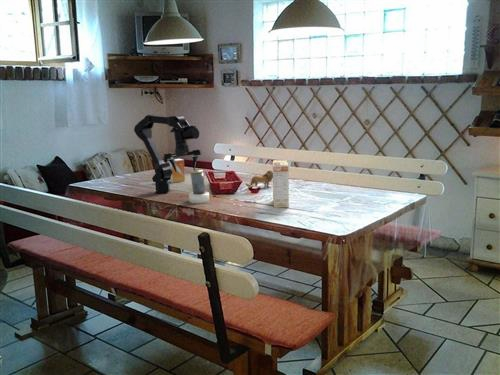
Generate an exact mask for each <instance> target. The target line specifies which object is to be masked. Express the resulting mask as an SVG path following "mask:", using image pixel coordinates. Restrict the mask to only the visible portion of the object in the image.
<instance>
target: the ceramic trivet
mask: <svg viewBox="0 0 500 375" xmlns="http://www.w3.org/2000/svg"><path fill="white" fill-rule="evenodd" d="M210 200H211V199H210V192H209V191H206V190H205V193H203V194H193V191H192V192H191V191H190V192H189V193H188V202H189V204H190V203H191V204H206V203H209V202H210Z"/></svg>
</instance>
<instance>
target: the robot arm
mask: <svg viewBox="0 0 500 375" xmlns="http://www.w3.org/2000/svg"><path fill="white" fill-rule="evenodd" d="M154 124H163V125H168V126H169V127H172V129H171V130H170V133H173V136H174V142H175V148H174V152H167V153H164V154H163V157H162V155H161V154H160V151H159V149H158V148H157V145H156V143H155V141H154V139H153V131H152V128H153V127H154ZM133 131H134V134H135V135H136V136H137V138H139V139H140V140H141V141H142V143H143V144H144V146H145V148H146V150H147V151H148V154H149V156H150V158H151V161H152V162H153V164H154V173H155V174H154V175H153V177H152V178H151V179H152V182H153V183H154V184H155V192H154V193H155V194H168V193H169V192H170V191H171V187H170V186H171V185H170V184H171V183H170V182H169V181H168V180H170V179H171V175H172V168H171V166H170V164H169V162H167V161H170V163H171V164H172V166H173V168H174V170H175V172H177V168H176V164H175V159H176V158H179V157H186V156H192V167H193V169H192V170H196V164H197V160H198V158H199V157H200V156H201V155H202V154H203V152H202V151H203V150H202V149H201V148H197V149H196V148H195V149H192V150H191V151H190V147H189V145H188V142H187V141H188V140H189V141H190V140H196V139H198V138H199V137H200V131H199V129H198V128H197V127H196V125H193V124H192V125H191V124H190V122H188V120H186V117H185V116H184V115H181V114H180V115H171V116H170V115H169V116H168V115H167V116H166V115H157V114H147V115H146V116H144V118H143V119H141V120H139V121H138V123H137V124H135V125H134V129H133ZM175 157H176V158H175ZM164 160H166V162H165V161H164Z"/></svg>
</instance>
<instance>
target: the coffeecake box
mask: <svg viewBox="0 0 500 375" xmlns="http://www.w3.org/2000/svg"><path fill="white" fill-rule="evenodd" d="M272 171H273V178H272V195H273V196H272V198H273V199H272V200H273V208H289V206H290V200H289V199H290V197H289V196H290V192H289V191H290V190H289V189H290V188H289V187H290V186H289V185H290V184H289V183H290V180H289V178H290V177H289V163H288V160H287V159H284V160H283V159H282V160H279V159H275V160H272Z"/></svg>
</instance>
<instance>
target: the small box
mask: <svg viewBox="0 0 500 375" xmlns="http://www.w3.org/2000/svg"><path fill="white" fill-rule="evenodd" d="M174 159H175V164H176V168H177V172H175V170H174V168H173V166H172V164H171V163H170V161H167V160H166V163H167V162H169V164H170V166H171V168H172V175H171V179H170V180H168V183H172V184H174V183H182V182H183V181H184V182H186V180H185V178H186V175H185V159H184V158H183V159H182V158H174Z"/></svg>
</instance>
